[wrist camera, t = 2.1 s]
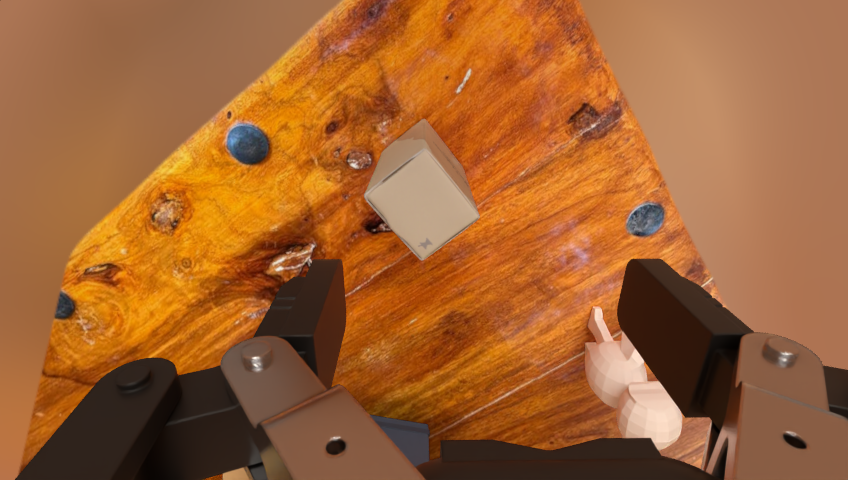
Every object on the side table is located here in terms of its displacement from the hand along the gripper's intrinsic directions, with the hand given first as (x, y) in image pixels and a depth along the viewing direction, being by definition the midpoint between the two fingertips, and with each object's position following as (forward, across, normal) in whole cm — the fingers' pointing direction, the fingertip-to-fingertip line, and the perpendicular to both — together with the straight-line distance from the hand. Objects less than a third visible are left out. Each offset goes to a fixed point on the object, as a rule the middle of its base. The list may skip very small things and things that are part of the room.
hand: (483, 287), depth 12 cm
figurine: (+22, -14, +18) cm, 32 cm away
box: (+22, +1, +2) cm, 23 cm away
